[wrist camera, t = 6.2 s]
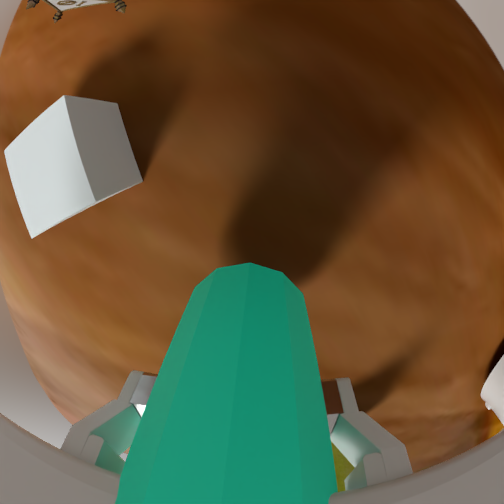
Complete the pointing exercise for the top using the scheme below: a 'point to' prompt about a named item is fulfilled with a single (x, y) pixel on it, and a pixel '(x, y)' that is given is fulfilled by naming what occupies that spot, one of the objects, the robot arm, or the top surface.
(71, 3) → the game die
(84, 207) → the grey block
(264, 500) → the candle
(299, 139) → the top surface
